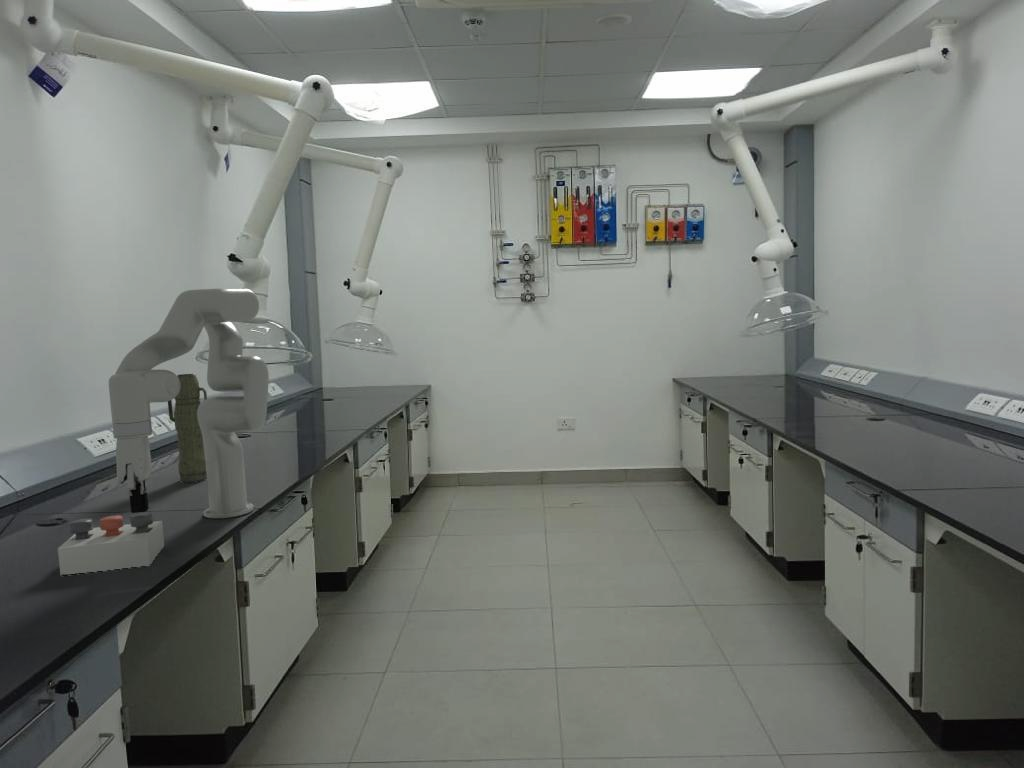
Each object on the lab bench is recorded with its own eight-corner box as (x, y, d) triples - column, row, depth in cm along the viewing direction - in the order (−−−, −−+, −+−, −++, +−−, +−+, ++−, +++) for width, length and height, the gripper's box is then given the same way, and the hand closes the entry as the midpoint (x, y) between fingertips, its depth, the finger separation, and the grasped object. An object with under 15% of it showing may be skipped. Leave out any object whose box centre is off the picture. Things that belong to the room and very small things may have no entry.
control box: (83, 554, 161) (80, 529, 161) (164, 545, 166) (161, 520, 165) (60, 576, 148) (57, 548, 147) (149, 566, 152) (146, 538, 151)
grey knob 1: (75, 544, 156) (73, 519, 156) (97, 541, 157) (95, 517, 157) (68, 550, 152) (65, 525, 152) (91, 547, 153) (88, 523, 153)
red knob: (105, 540, 158) (103, 516, 157) (127, 538, 159) (124, 514, 158) (99, 546, 154) (96, 522, 153) (121, 544, 155) (119, 520, 154)
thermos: (175, 479, 237) (166, 374, 233) (214, 474, 241) (205, 372, 237) (173, 484, 228) (163, 376, 225) (213, 480, 232) (204, 374, 229)
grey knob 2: (135, 537, 159) (132, 513, 159) (156, 535, 160) (154, 511, 160) (129, 543, 155) (127, 519, 155) (151, 541, 156) (149, 516, 156)
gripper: (123, 426, 161) (130, 505, 163) (103, 436, 147) (111, 522, 149) (159, 423, 163) (166, 501, 165) (142, 433, 149) (150, 518, 151)
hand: (140, 511), depth 157 cm, fingers closed
